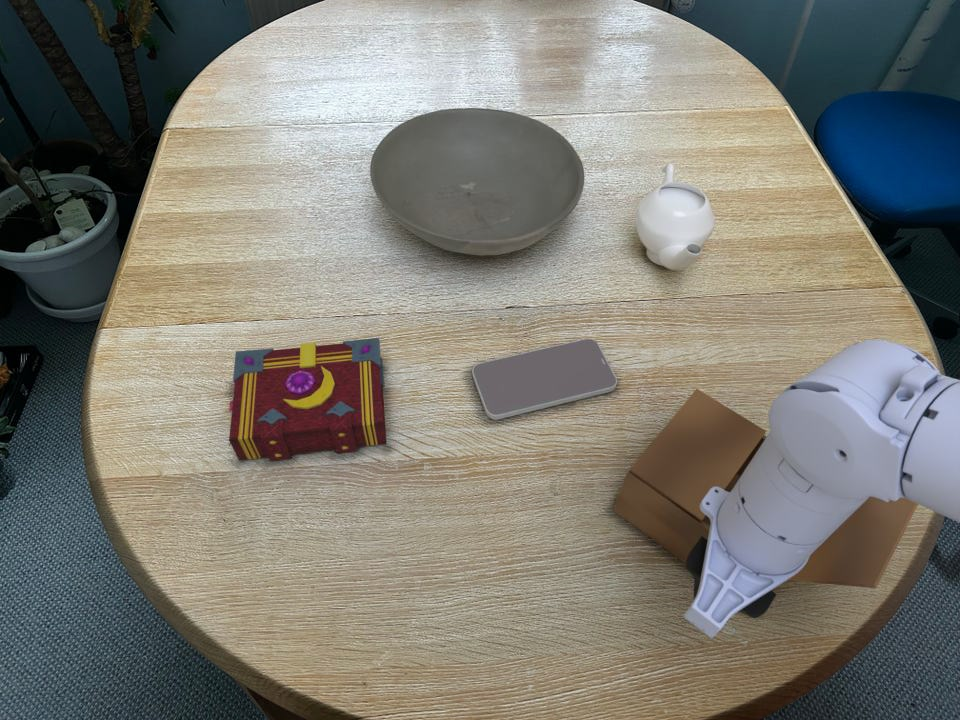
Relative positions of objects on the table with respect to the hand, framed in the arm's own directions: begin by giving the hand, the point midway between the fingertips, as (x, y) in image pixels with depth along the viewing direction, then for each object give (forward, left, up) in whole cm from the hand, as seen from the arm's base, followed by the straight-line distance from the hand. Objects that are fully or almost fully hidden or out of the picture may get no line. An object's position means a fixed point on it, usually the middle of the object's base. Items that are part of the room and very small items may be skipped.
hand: (719, 583), depth 50 cm
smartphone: (+26, -13, -10) cm, 30 cm away
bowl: (+50, -29, -11) cm, 58 cm away
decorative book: (+42, +7, -11) cm, 43 cm away
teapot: (+26, -40, -11) cm, 49 cm away
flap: (-6, -11, +1) cm, 12 cm away
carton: (+4, -11, -10) cm, 16 cm away
